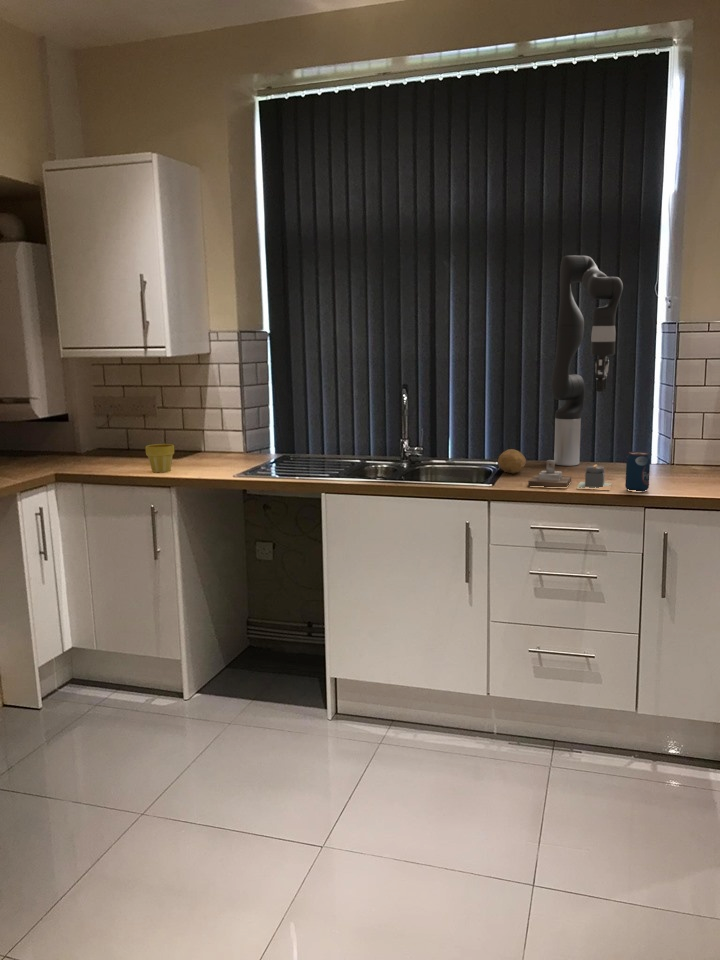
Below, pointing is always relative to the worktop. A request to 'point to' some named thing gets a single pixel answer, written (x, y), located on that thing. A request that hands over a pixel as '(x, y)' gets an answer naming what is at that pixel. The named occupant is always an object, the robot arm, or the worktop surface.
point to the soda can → (637, 471)
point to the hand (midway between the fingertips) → (601, 390)
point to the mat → (582, 484)
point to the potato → (511, 461)
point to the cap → (594, 476)
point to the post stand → (550, 477)
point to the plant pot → (160, 456)
